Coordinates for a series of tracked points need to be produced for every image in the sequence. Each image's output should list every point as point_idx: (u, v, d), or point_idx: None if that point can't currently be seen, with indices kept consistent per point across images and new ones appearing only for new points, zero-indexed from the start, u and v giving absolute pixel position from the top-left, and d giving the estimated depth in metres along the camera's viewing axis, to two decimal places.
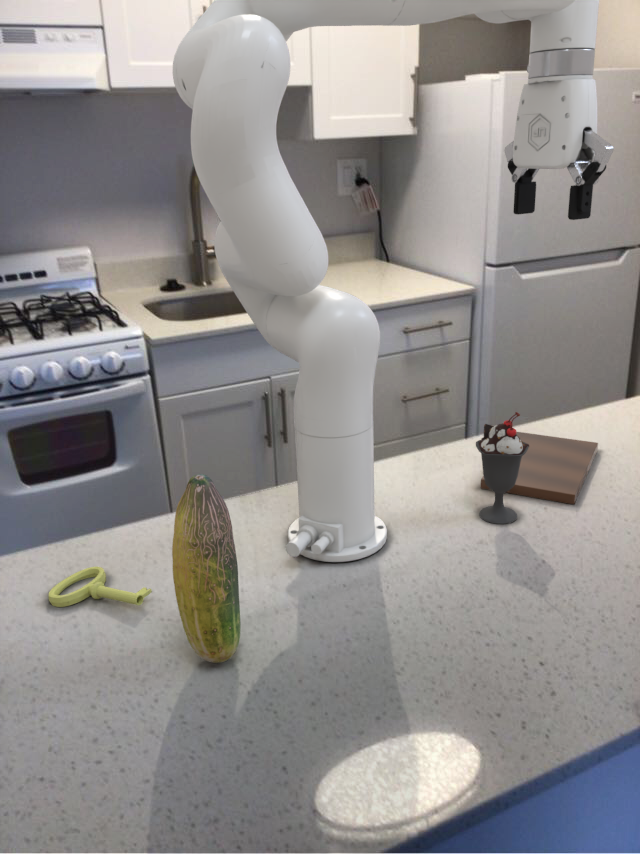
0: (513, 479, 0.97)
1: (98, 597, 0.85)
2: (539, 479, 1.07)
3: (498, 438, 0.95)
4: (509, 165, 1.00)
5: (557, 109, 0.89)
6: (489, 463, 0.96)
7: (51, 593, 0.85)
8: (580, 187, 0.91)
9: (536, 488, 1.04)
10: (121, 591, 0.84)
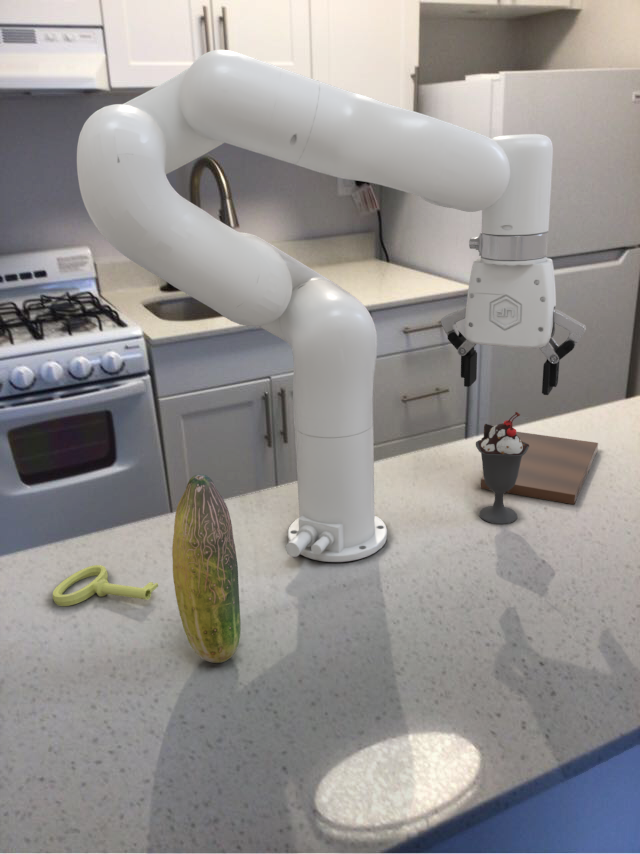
0: (513, 479, 0.97)
1: (103, 594, 0.86)
2: (539, 479, 1.07)
3: (498, 438, 0.95)
4: (451, 337, 0.94)
5: (529, 292, 0.86)
6: (489, 463, 0.96)
7: (56, 593, 0.85)
8: (553, 364, 0.90)
9: (536, 488, 1.04)
10: (128, 587, 0.84)
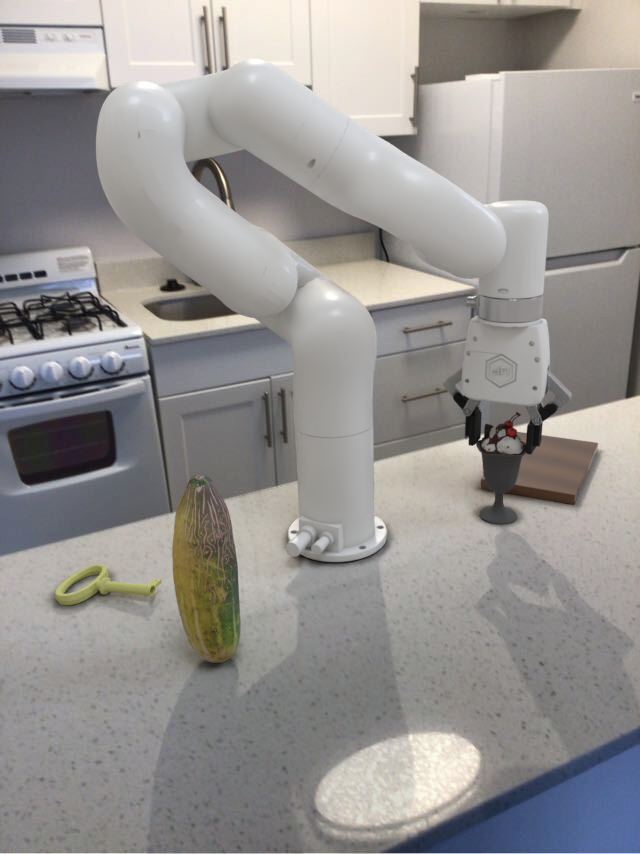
0: (513, 479, 0.97)
1: (106, 592, 0.86)
2: (539, 479, 1.07)
3: (499, 438, 0.95)
4: (456, 398, 0.97)
5: (524, 352, 0.89)
6: (489, 463, 0.96)
7: (58, 592, 0.85)
8: (536, 425, 0.93)
9: (536, 488, 1.04)
10: (132, 584, 0.85)
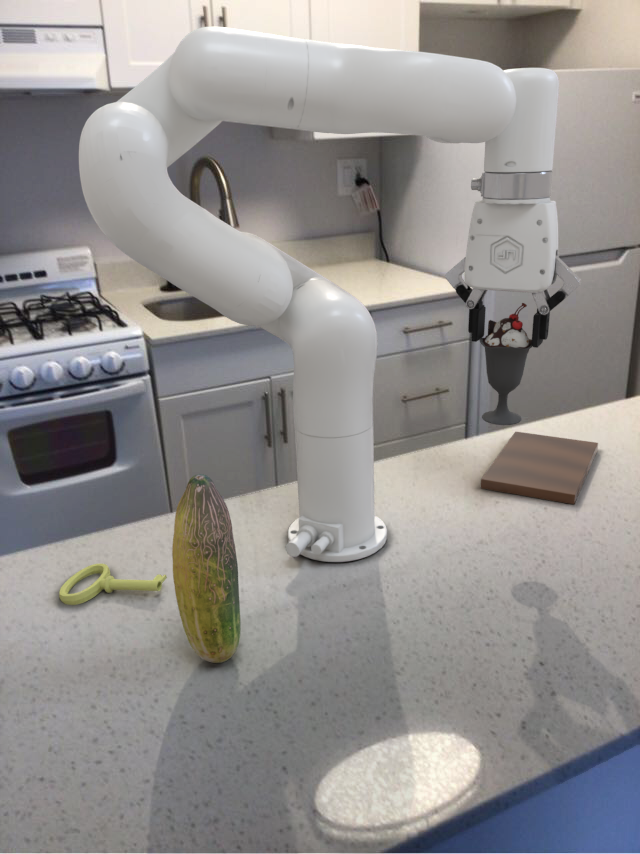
0: (518, 376, 0.92)
1: (111, 590, 0.87)
2: (539, 479, 1.07)
3: (503, 332, 0.90)
4: (459, 290, 0.92)
5: (532, 233, 0.84)
6: (493, 358, 0.91)
7: (63, 592, 0.85)
8: (543, 315, 0.88)
9: (536, 488, 1.04)
10: (137, 580, 0.86)
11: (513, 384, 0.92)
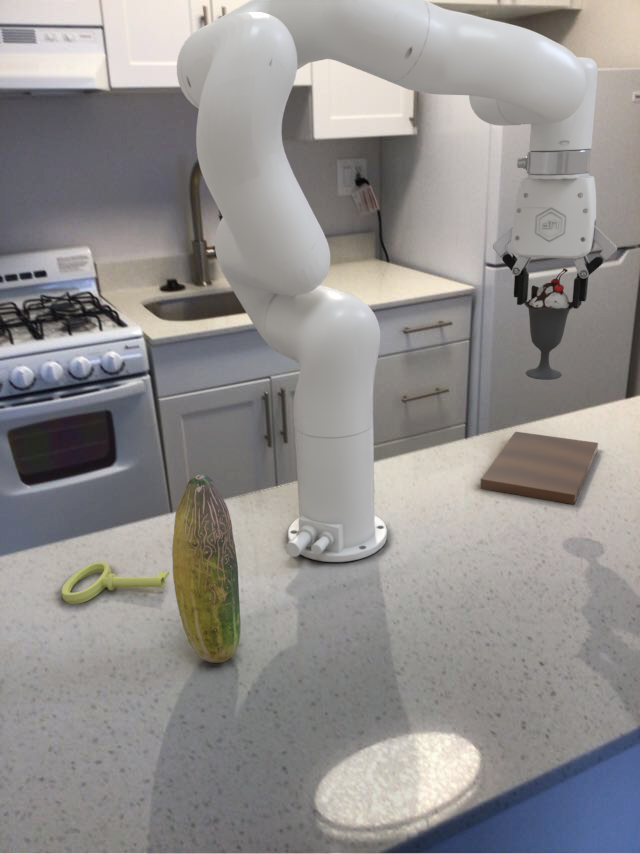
0: (559, 335, 1.02)
1: (113, 588, 0.87)
2: (539, 479, 1.07)
3: (546, 295, 1.01)
4: (506, 258, 1.02)
5: (573, 204, 0.94)
6: (537, 319, 1.02)
7: (65, 591, 0.85)
8: (582, 279, 0.99)
9: (536, 488, 1.04)
10: (140, 577, 0.86)
11: (555, 342, 1.03)
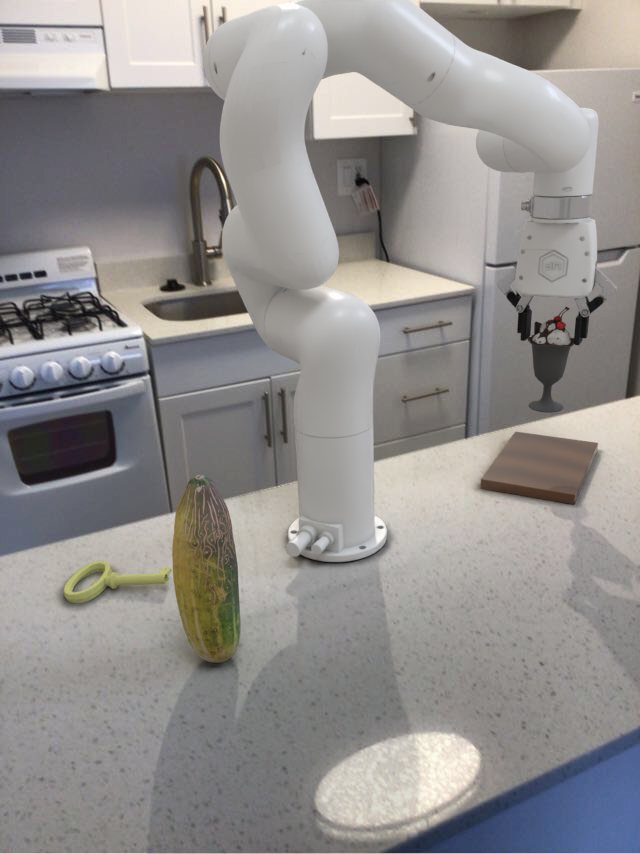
0: (561, 370, 1.06)
1: (116, 586, 0.87)
2: (539, 479, 1.07)
3: (549, 332, 1.05)
4: (510, 296, 1.06)
5: (575, 247, 0.98)
6: (540, 354, 1.06)
7: (68, 591, 0.85)
8: (584, 317, 1.03)
9: (536, 488, 1.04)
10: (143, 575, 0.87)
11: (557, 377, 1.07)
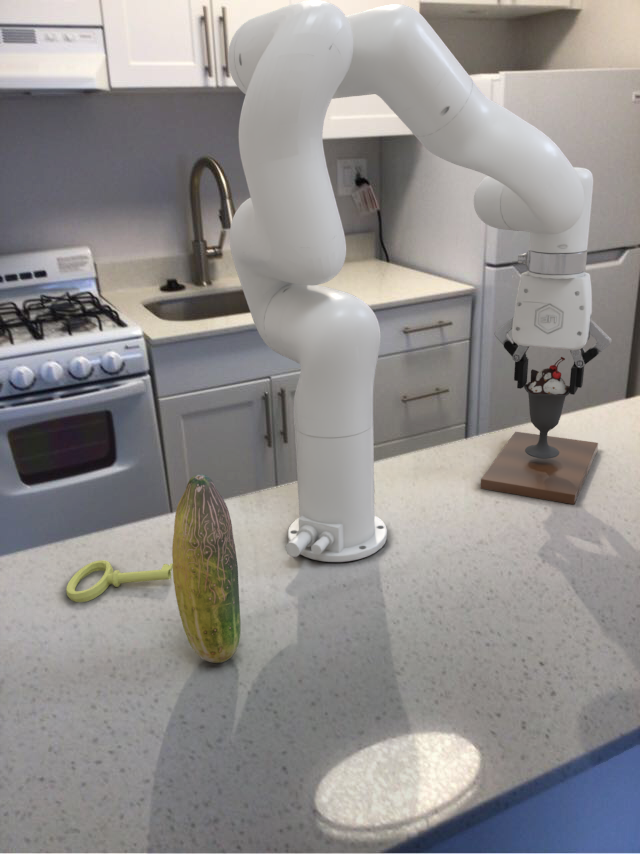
0: (557, 418, 1.09)
1: (119, 584, 0.88)
2: (539, 479, 1.07)
3: (545, 381, 1.07)
4: (507, 345, 1.09)
5: (570, 301, 1.01)
6: (536, 403, 1.08)
7: (72, 591, 0.86)
8: (579, 368, 1.05)
9: (536, 488, 1.04)
10: (146, 571, 0.87)
11: (553, 424, 1.09)
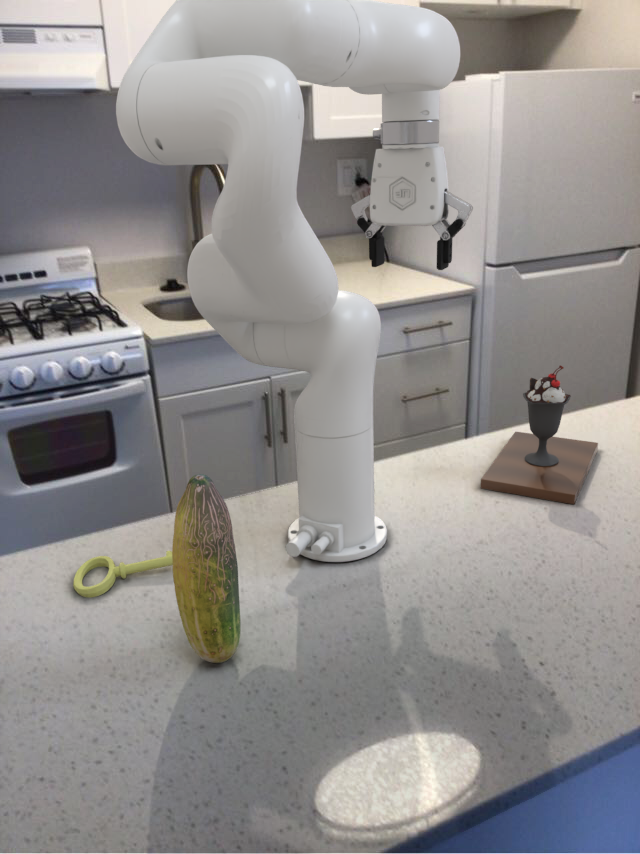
0: (556, 426, 1.09)
1: None
2: (539, 479, 1.07)
3: (544, 389, 1.08)
4: (360, 222, 1.06)
5: (422, 173, 0.98)
6: (535, 411, 1.09)
7: (83, 587, 0.86)
8: (445, 241, 1.02)
9: (536, 488, 1.04)
10: (153, 559, 0.90)
11: (552, 432, 1.10)
